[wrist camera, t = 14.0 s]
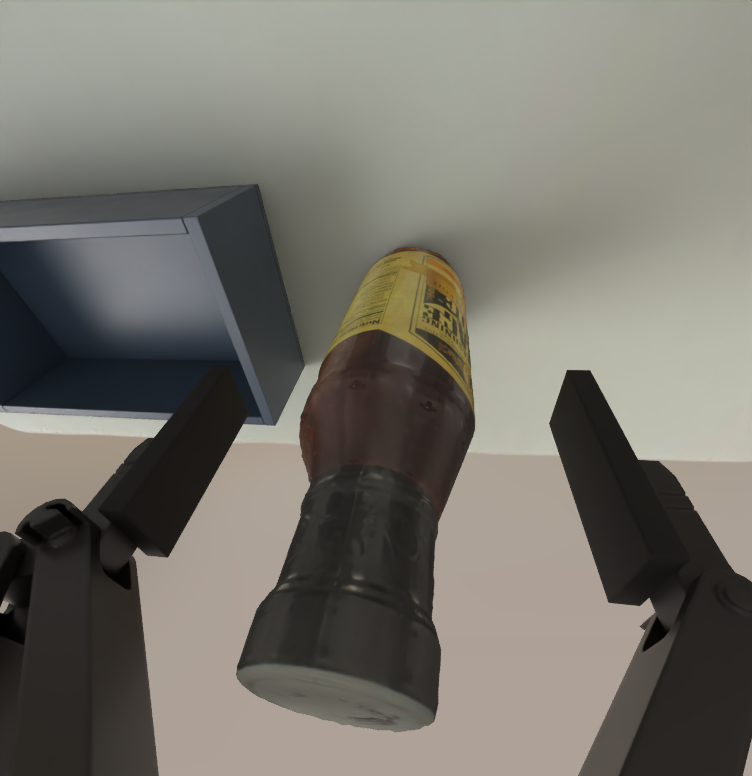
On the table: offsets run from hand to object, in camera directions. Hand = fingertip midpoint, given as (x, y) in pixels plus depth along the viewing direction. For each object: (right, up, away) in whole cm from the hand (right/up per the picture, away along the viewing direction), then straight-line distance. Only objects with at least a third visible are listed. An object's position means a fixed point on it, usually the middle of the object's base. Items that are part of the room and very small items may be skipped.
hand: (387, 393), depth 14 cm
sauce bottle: (+2, +7, +8) cm, 10 cm away
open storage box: (-17, +7, +11) cm, 21 cm away
